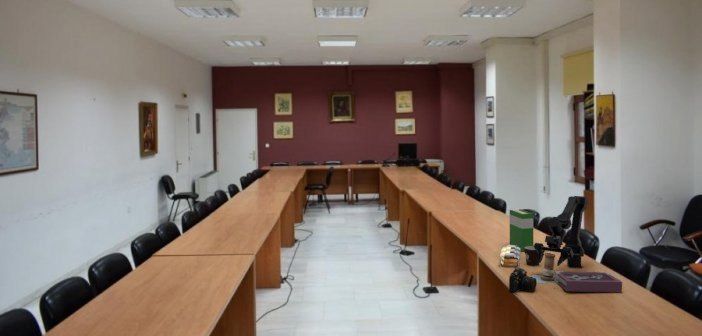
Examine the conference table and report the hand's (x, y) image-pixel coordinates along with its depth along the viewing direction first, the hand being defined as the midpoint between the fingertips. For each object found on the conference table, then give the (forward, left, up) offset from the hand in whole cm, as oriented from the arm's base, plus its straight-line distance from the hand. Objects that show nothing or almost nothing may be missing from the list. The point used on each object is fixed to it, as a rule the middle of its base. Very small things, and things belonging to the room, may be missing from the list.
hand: (548, 264), depth 255 cm
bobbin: (+1, +1, -7) cm, 7 cm away
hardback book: (+4, -68, -9) cm, 68 cm away
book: (-16, +10, -8) cm, 20 cm away
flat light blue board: (0, 0, -8) cm, 9 cm away
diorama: (+15, -33, -9) cm, 37 cm away
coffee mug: (+3, -30, -9) cm, 31 cm away
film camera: (+14, +16, -9) cm, 23 cm away
